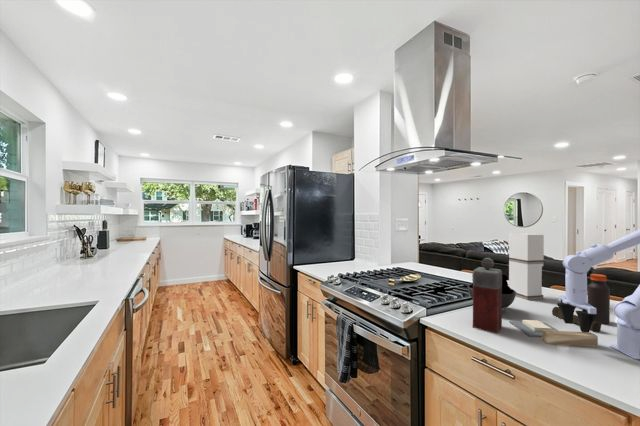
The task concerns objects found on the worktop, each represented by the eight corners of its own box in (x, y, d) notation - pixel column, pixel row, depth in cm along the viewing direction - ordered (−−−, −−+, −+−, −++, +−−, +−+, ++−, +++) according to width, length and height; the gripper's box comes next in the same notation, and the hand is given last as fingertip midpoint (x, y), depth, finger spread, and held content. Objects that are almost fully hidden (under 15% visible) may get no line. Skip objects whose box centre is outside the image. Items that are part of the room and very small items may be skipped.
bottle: (614, 325, 118) (614, 277, 118) (595, 323, 119) (595, 276, 119) (601, 319, 124) (601, 273, 125) (583, 318, 126) (583, 273, 126)
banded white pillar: (543, 298, 154) (543, 234, 154) (527, 300, 152) (527, 234, 152) (524, 293, 165) (524, 233, 165) (509, 294, 163) (509, 233, 163)
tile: (551, 328, 109) (538, 320, 117) (534, 327, 110) (522, 319, 118) (551, 332, 109) (538, 324, 117) (534, 331, 110) (522, 323, 118)
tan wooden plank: (597, 347, 98) (597, 336, 98) (547, 344, 101) (547, 333, 101) (590, 343, 101) (590, 332, 101) (541, 340, 104) (541, 329, 104)
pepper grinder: (502, 324, 117) (503, 257, 118) (498, 333, 109) (498, 260, 109) (478, 319, 123) (478, 255, 123) (472, 327, 115) (472, 258, 115)
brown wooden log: (602, 332, 111) (602, 320, 111) (593, 332, 111) (593, 320, 111) (558, 315, 130) (558, 305, 130) (549, 315, 130) (549, 305, 130)
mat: (570, 338, 105) (570, 337, 105) (529, 336, 106) (529, 334, 106) (545, 324, 118) (545, 322, 118) (509, 322, 120) (509, 320, 120)
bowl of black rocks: (521, 310, 136) (521, 270, 136) (508, 320, 122) (509, 276, 122) (476, 300, 151) (476, 265, 151) (460, 308, 137) (461, 269, 137)
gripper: (549, 283, 108) (550, 319, 108) (579, 294, 94) (580, 335, 94) (570, 284, 108) (570, 320, 107) (603, 295, 93) (603, 336, 93)
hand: (576, 327), depth 101 cm, fingers open, 7 cm apart
